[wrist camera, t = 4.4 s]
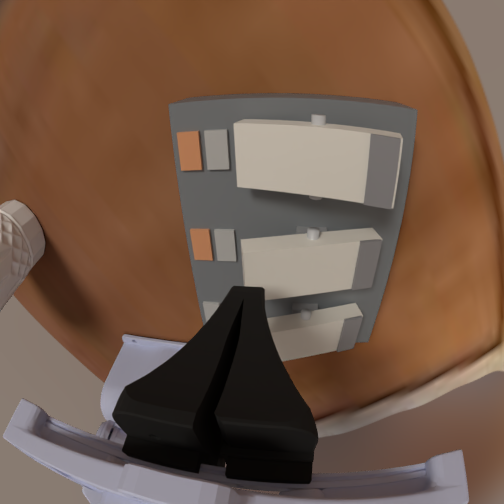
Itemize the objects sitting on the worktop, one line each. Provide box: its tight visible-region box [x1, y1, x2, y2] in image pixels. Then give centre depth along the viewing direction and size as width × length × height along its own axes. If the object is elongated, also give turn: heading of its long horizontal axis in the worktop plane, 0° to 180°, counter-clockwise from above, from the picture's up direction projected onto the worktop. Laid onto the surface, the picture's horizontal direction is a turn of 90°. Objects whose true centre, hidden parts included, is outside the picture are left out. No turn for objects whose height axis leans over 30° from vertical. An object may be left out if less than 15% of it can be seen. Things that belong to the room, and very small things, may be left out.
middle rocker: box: [241, 227, 382, 300], centre depth 15 cm, size 7×4×1 cm, turn 93°
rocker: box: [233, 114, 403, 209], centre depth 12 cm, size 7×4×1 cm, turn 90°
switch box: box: [169, 93, 417, 342], centre depth 18 cm, size 12×16×4 cm
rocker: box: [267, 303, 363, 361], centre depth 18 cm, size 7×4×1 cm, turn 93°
